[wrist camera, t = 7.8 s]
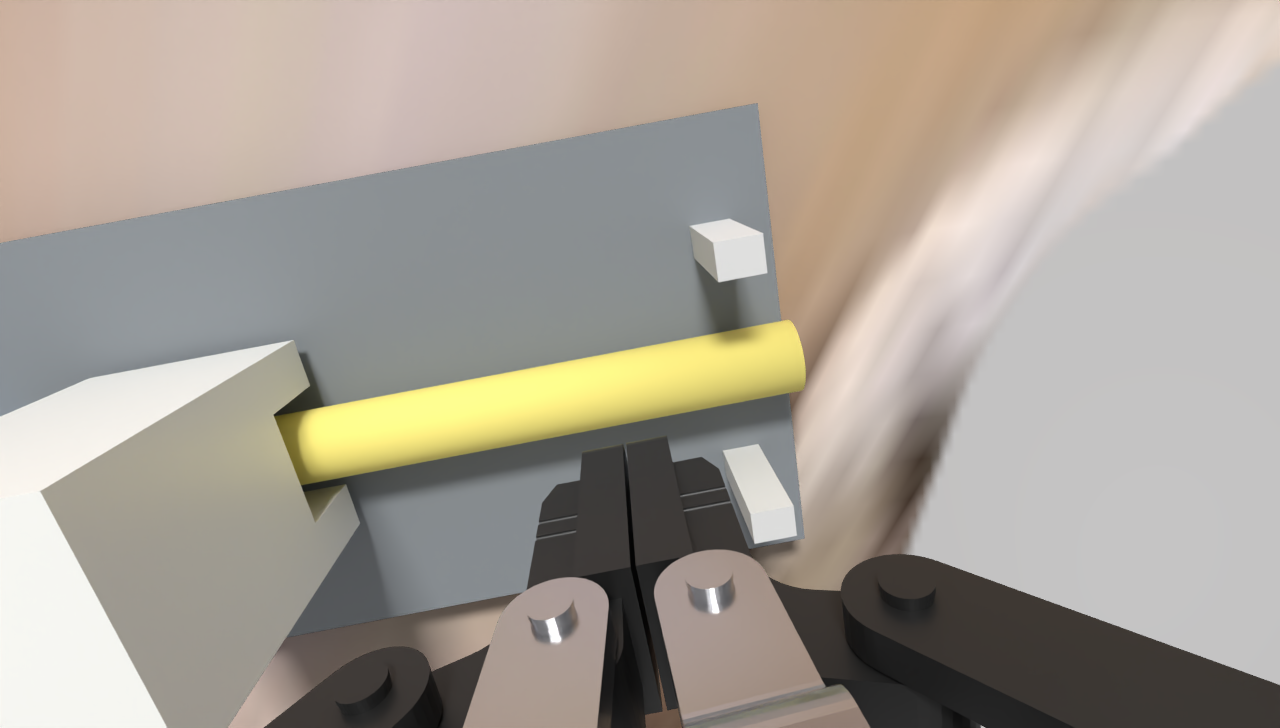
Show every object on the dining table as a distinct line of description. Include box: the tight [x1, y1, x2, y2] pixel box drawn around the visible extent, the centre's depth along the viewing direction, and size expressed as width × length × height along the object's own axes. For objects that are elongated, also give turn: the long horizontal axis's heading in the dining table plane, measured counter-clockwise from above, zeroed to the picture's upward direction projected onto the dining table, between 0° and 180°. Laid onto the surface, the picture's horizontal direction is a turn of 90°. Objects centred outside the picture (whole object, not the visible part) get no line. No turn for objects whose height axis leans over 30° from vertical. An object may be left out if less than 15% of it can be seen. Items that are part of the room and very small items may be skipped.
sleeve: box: [0, 340, 360, 728], centre depth 13 cm, size 5×5×7 cm
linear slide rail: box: [0, 103, 806, 638], centre depth 15 cm, size 22×12×5 cm, turn 100°
